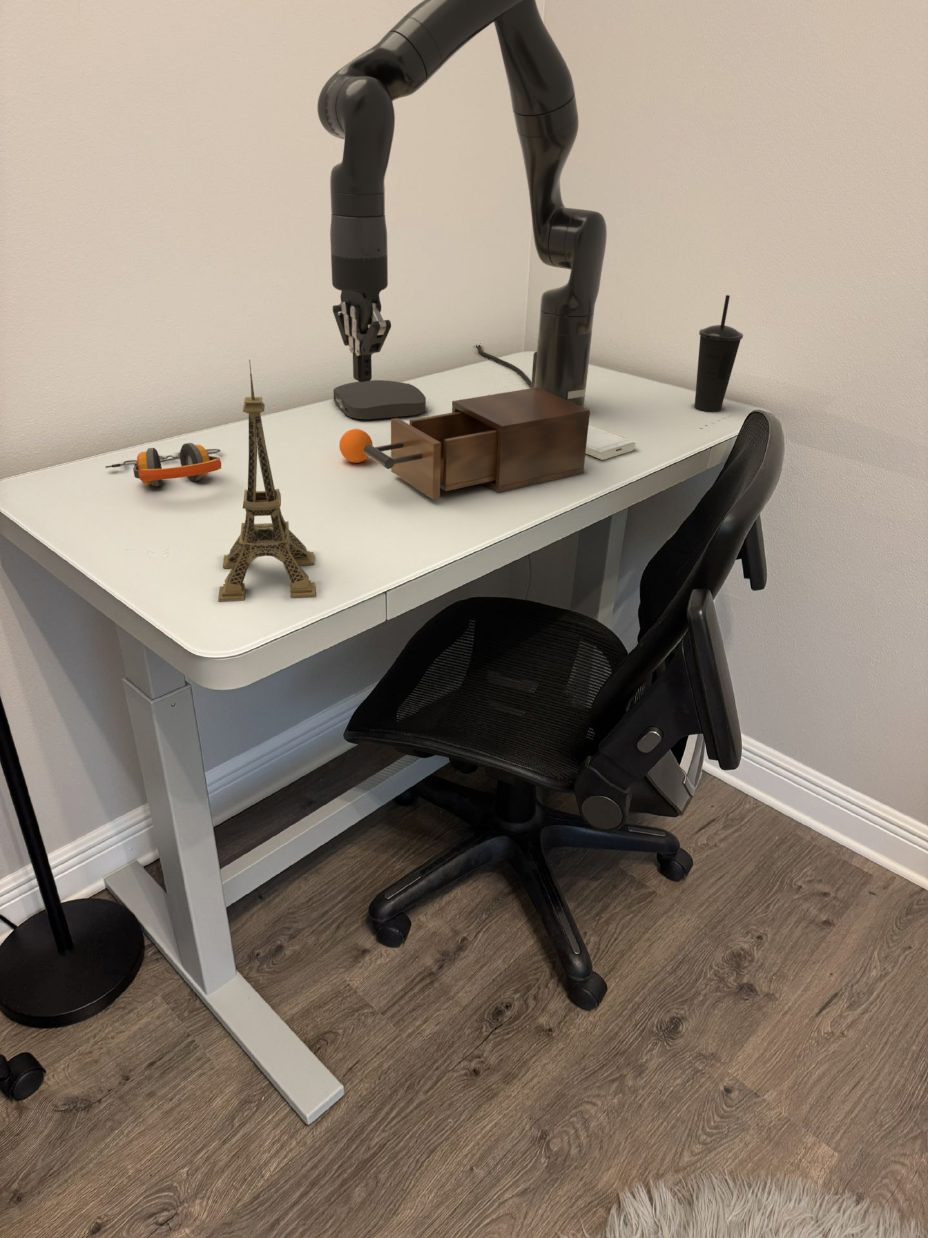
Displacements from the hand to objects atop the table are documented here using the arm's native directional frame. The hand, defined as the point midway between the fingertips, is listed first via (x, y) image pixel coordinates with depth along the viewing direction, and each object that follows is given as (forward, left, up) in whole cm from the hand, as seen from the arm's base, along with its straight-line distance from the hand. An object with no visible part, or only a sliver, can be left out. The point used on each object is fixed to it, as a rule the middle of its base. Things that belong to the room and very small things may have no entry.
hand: (362, 379), depth 128 cm
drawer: (+12, +6, -12) cm, 18 cm away
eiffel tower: (+26, -26, -13) cm, 39 cm away
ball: (-2, 0, -11) cm, 11 cm away
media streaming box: (-24, +16, -13) cm, 32 cm away
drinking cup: (+4, +70, -13) cm, 71 cm away
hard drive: (+9, +37, -13) cm, 40 cm away
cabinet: (+12, +20, -13) cm, 26 cm away
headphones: (-8, -26, -13) cm, 30 cm away
